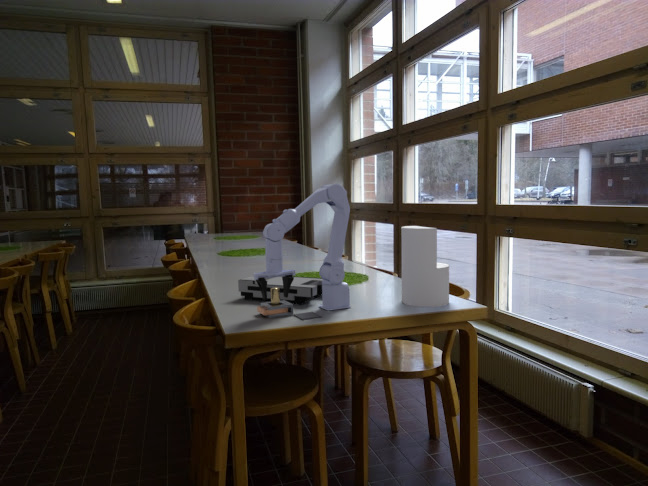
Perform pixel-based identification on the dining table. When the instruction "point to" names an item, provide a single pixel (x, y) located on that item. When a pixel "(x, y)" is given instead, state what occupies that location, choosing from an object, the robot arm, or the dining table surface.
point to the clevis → (276, 309)
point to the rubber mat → (307, 315)
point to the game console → (298, 291)
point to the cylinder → (423, 268)
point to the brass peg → (275, 296)
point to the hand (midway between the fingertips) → (275, 298)
